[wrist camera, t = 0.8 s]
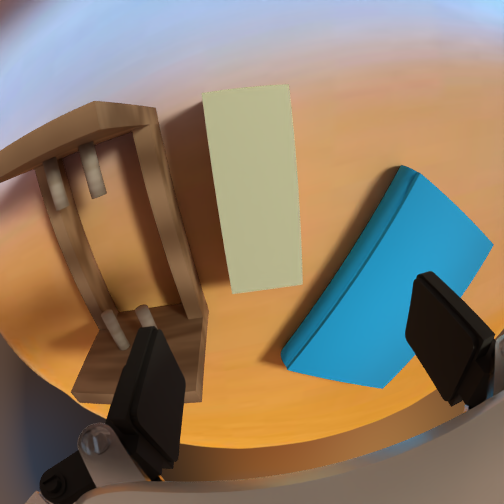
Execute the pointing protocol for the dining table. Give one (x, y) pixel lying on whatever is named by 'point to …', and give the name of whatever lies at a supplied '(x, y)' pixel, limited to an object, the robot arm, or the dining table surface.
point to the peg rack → (79, 252)
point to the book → (386, 285)
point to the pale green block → (256, 185)
